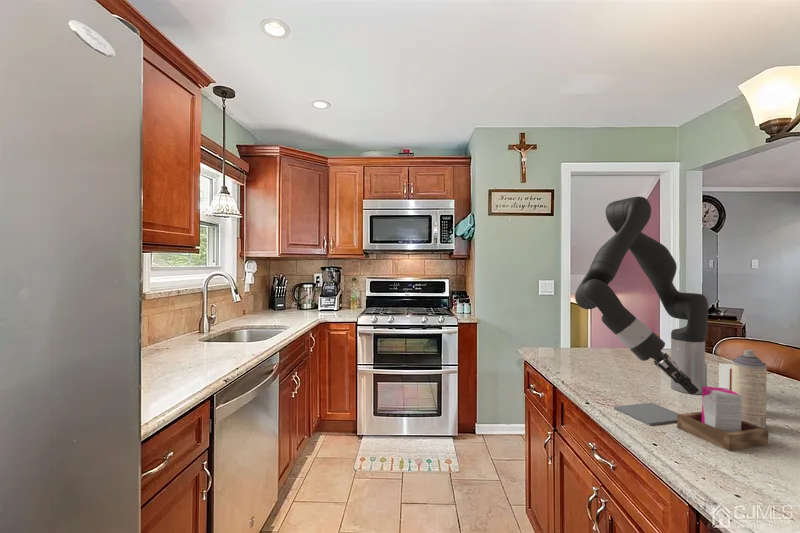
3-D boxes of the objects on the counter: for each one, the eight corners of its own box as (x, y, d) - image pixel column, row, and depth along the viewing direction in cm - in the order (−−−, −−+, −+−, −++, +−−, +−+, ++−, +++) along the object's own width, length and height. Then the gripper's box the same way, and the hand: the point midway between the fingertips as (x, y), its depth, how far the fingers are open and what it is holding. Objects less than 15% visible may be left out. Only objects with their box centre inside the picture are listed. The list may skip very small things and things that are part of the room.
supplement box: (742, 442, 90) (742, 395, 90) (714, 440, 91) (714, 393, 91) (726, 431, 96) (727, 387, 96) (700, 429, 97) (700, 385, 97)
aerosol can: (763, 424, 101) (763, 349, 100) (768, 433, 95) (769, 354, 95) (729, 417, 105) (730, 346, 104) (733, 426, 99) (733, 351, 99)
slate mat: (651, 404, 114) (651, 402, 114) (690, 420, 103) (690, 418, 103) (613, 408, 111) (613, 406, 111) (649, 425, 99) (649, 423, 99)
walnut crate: (713, 423, 101) (713, 410, 101) (768, 444, 89) (768, 429, 89) (677, 427, 98) (677, 414, 98) (729, 450, 86) (729, 435, 86)
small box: (729, 413, 108) (729, 368, 108) (717, 405, 114) (718, 362, 114) (763, 416, 105) (764, 370, 105) (750, 408, 112) (750, 365, 111)
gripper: (654, 334, 94) (712, 386, 89) (648, 326, 107) (698, 371, 101) (629, 352, 97) (684, 405, 91) (626, 342, 109) (674, 388, 104)
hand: (691, 387), depth 96 cm, fingers open, 8 cm apart
